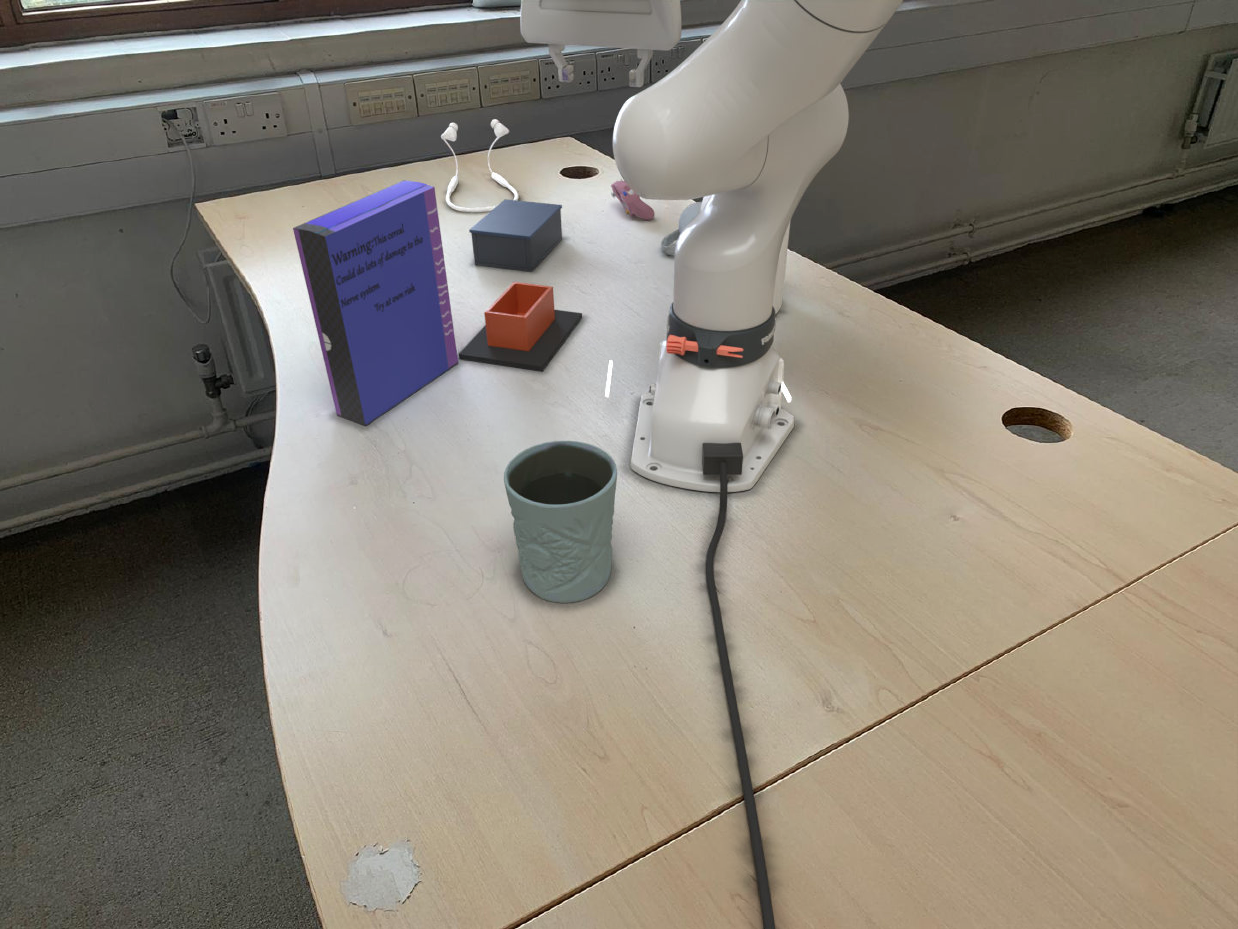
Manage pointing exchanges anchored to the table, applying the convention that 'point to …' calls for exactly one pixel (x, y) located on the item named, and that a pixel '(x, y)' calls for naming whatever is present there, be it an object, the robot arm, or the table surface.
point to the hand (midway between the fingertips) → (601, 83)
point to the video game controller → (631, 201)
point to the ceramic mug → (680, 227)
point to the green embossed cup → (563, 518)
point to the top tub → (520, 316)
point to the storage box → (517, 235)
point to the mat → (524, 359)
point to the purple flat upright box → (379, 298)
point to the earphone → (499, 132)
